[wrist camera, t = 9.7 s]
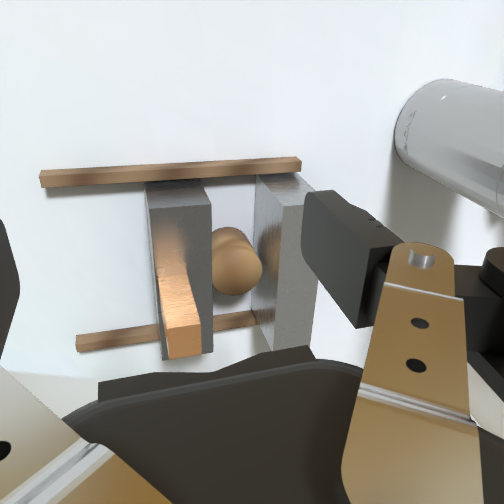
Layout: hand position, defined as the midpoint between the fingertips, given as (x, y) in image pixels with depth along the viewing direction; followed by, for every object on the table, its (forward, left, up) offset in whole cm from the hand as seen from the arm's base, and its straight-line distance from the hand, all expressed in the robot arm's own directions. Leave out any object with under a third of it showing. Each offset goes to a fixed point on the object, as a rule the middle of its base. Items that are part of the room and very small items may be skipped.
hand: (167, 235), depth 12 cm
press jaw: (-3, +17, -28) cm, 33 cm away
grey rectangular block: (-13, +17, -28) cm, 35 cm away
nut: (-8, +17, -28) cm, 34 cm away
